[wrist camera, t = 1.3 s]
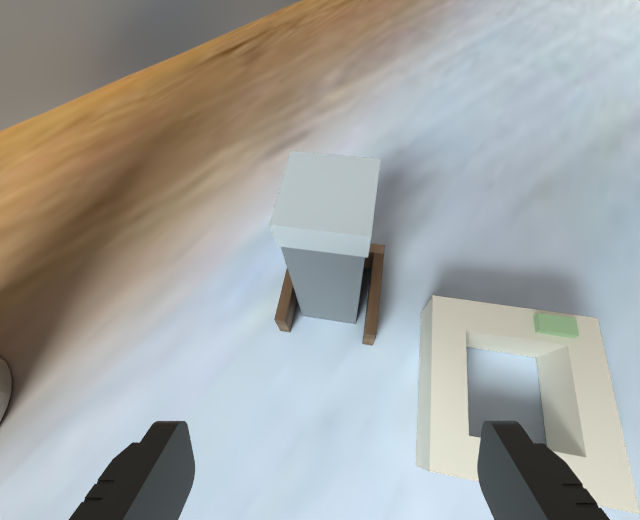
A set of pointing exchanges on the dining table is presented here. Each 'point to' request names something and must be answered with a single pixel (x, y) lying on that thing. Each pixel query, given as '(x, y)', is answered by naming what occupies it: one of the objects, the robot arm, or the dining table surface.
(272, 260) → the dining table surface
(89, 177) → the dining table surface
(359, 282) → the plug
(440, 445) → the frame
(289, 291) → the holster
